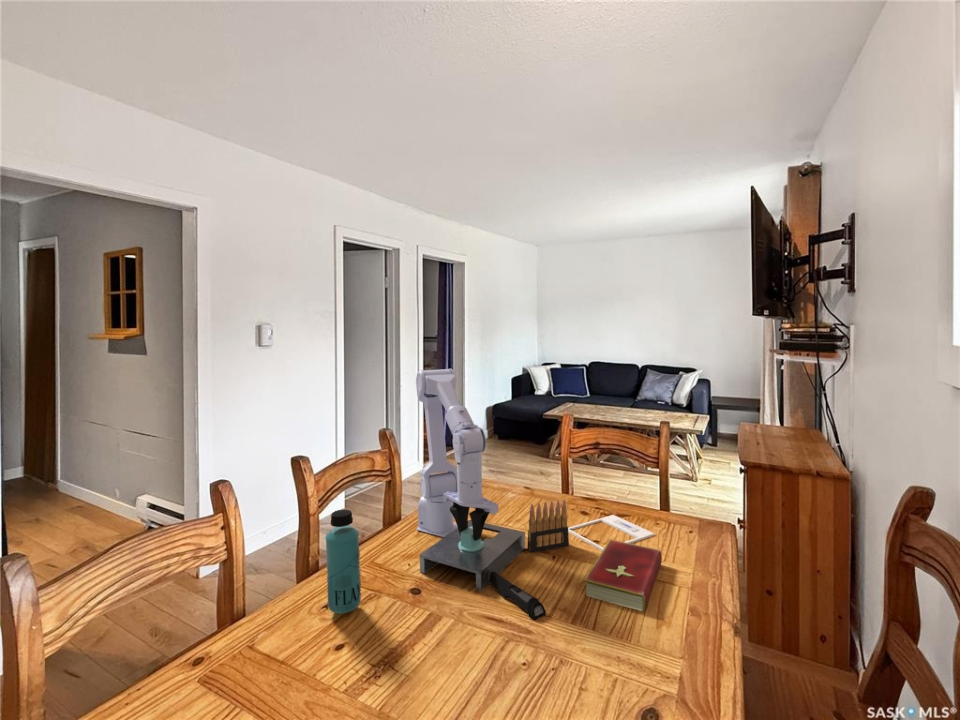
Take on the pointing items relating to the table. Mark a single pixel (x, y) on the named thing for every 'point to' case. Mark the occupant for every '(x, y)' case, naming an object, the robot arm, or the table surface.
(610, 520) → the photo frame
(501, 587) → the electric trimmer
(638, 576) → the hardcover book
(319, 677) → the table surface
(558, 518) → the ammunition clip
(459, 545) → the peg
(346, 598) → the beverage bottle
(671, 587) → the table surface
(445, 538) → the keyhole plate
